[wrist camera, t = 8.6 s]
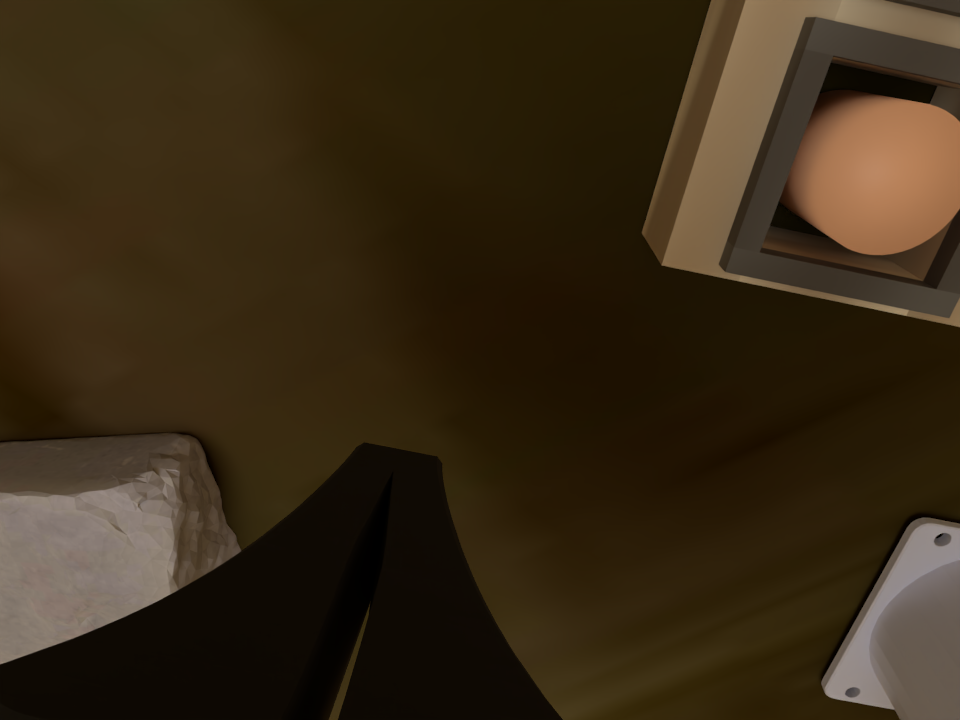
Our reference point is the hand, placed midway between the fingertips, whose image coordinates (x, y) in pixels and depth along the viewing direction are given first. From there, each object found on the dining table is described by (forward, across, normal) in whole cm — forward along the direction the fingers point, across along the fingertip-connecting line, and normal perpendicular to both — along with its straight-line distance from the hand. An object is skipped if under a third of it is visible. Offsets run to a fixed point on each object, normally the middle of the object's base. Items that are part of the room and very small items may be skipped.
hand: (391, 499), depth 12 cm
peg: (+9, -9, -6) cm, 14 cm away
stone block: (+10, +11, +12) cm, 19 cm away
